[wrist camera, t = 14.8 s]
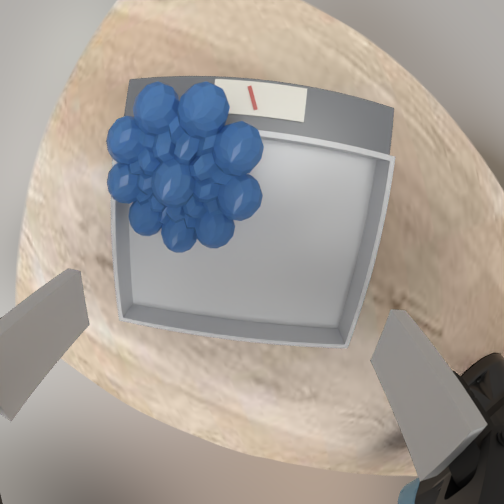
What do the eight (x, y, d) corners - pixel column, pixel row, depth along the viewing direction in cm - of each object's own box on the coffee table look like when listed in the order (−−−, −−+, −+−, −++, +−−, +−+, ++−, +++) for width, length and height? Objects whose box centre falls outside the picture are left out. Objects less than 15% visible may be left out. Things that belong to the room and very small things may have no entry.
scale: (380, 112, 21) (411, 102, 15) (340, 317, 28) (356, 352, 22) (143, 86, 21) (112, 70, 15) (135, 292, 28) (110, 322, 22)
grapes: (300, 192, 21) (237, 44, 13) (297, 255, 16) (201, 50, 9) (178, 224, 25) (108, 115, 18) (149, 280, 21) (52, 155, 13)
